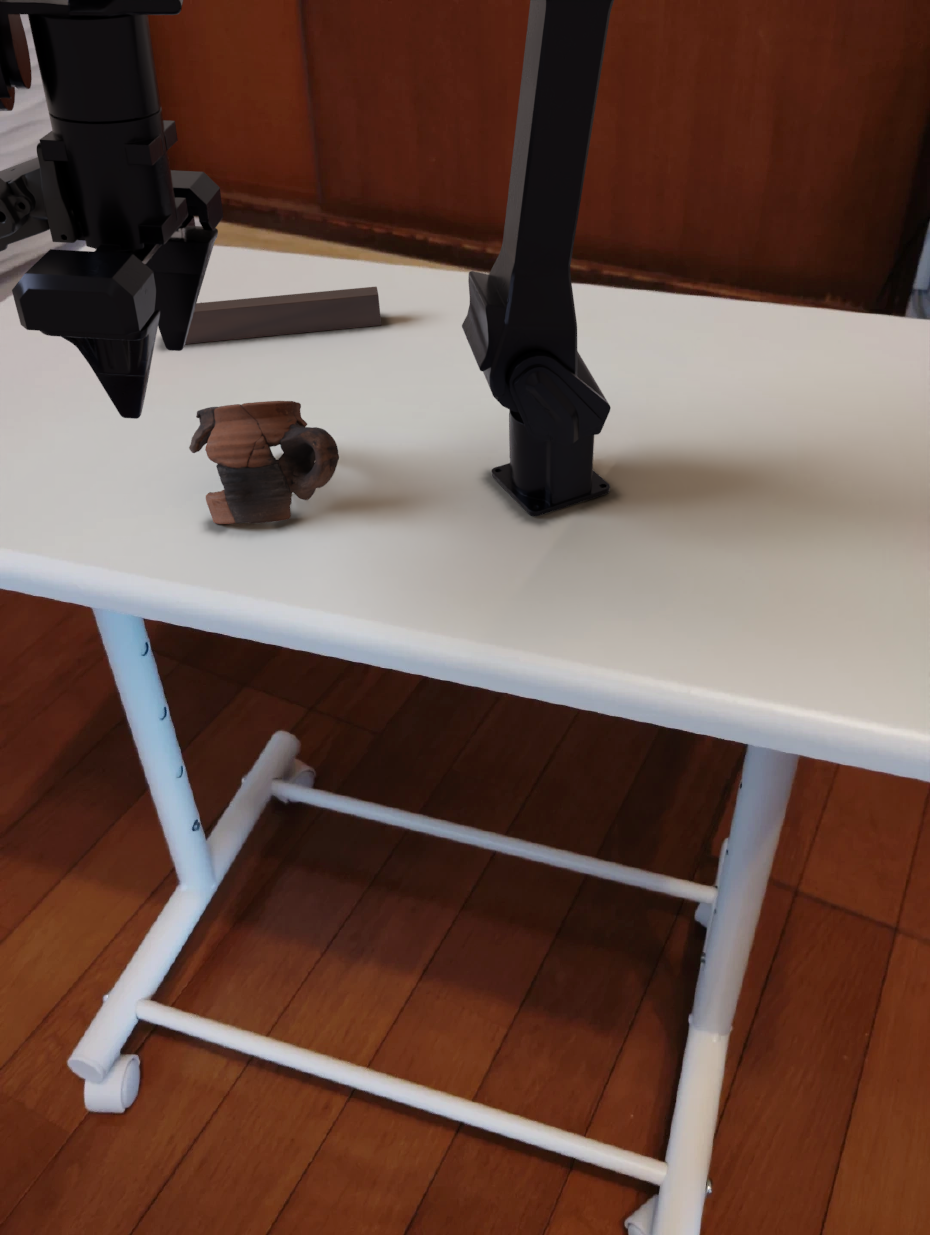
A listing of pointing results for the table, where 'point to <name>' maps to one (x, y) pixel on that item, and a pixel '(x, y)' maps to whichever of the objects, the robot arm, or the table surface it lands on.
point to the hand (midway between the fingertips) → (154, 381)
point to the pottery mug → (262, 459)
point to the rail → (284, 315)
